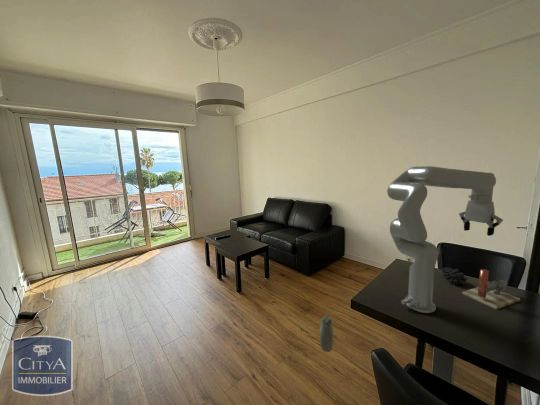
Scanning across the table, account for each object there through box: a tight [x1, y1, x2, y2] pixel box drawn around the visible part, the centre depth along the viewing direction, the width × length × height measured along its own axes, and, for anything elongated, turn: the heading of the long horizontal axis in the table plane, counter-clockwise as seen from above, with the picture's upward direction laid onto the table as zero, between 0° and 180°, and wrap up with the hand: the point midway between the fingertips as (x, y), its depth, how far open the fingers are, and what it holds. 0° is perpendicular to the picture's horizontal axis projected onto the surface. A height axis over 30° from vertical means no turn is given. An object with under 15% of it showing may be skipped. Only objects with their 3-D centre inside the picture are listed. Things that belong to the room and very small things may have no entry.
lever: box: [477, 268, 508, 298], centre depth 111 cm, size 19×4×14 cm, turn 110°
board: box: [461, 286, 521, 310], centre depth 113 cm, size 18×14×5 cm
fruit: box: [441, 267, 468, 286], centre depth 129 cm, size 9×8×15 cm
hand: (477, 232), depth 112 cm, fingers open, 9 cm apart
